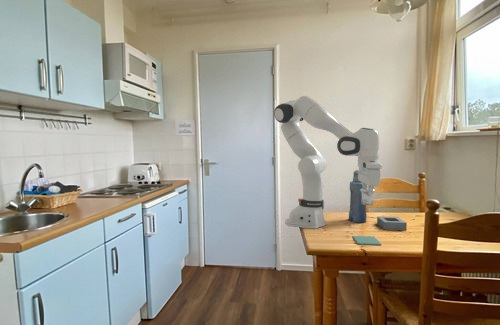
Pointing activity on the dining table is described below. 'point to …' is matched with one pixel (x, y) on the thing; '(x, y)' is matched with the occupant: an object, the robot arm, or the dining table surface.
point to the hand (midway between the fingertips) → (367, 193)
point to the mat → (366, 240)
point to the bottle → (356, 201)
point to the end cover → (367, 196)
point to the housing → (391, 223)
